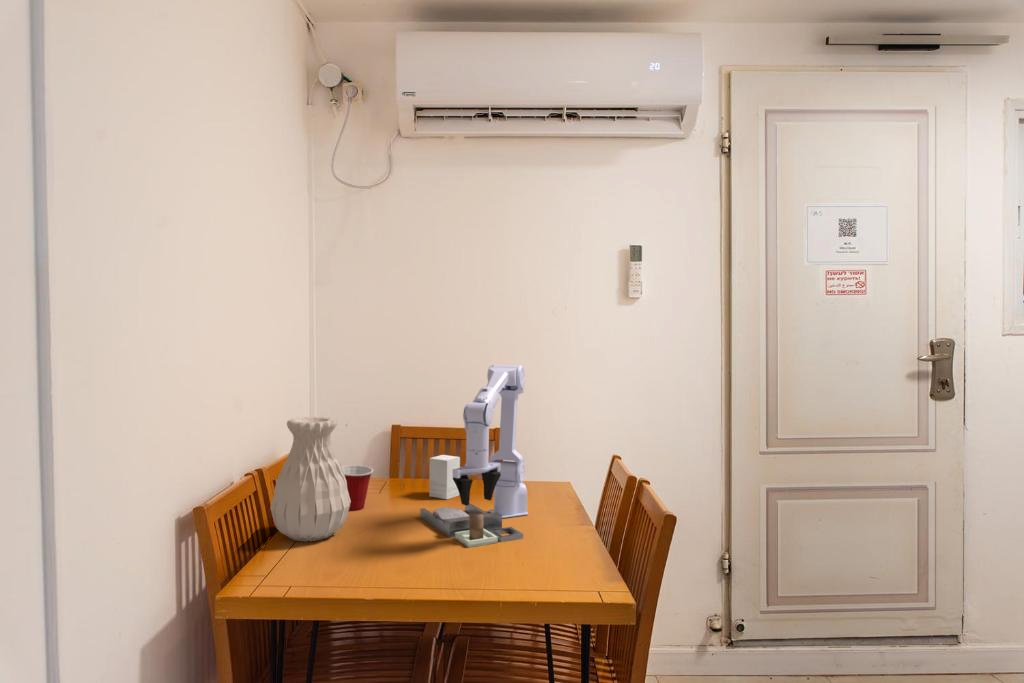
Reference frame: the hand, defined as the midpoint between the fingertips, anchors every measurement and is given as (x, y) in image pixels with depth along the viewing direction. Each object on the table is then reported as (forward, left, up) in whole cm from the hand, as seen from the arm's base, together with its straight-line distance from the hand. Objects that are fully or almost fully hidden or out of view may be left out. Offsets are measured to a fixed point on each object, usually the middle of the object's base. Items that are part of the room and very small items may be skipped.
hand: (476, 502), depth 168 cm
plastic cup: (+19, -43, -10) cm, 48 cm away
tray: (0, 0, -10) cm, 10 cm away
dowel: (0, 0, -9) cm, 9 cm away
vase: (+36, -23, -10) cm, 44 cm away
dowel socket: (-9, 0, -10) cm, 13 cm away
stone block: (-1, -15, -10) cm, 18 cm away
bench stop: (-3, -16, -10) cm, 19 cm away
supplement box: (-11, -45, -10) cm, 47 cm away
